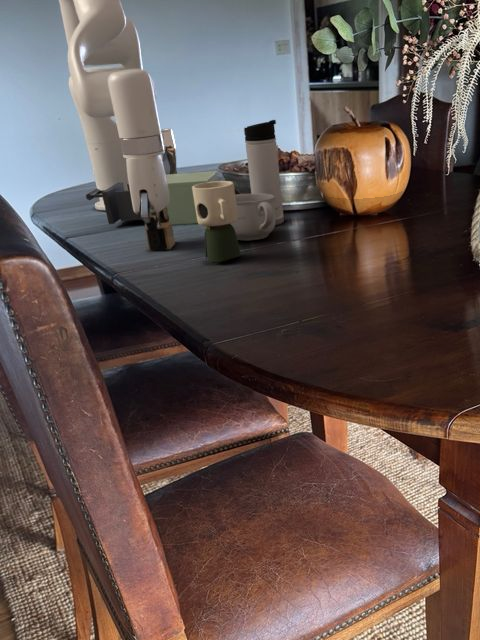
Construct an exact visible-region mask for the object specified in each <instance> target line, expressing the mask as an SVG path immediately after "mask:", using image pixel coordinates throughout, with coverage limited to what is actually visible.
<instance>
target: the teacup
mask: <svg viewBox="0 0 480 640" xmlns="http://www.w3.org/2000/svg"><path fill="white" fill-rule="evenodd" d="M235 198H236V205H237V213H238V220H237V221H235V222H233V223H231V225H232V226H233V228H234V229H235V233H236V236H237V240H238V241H259V240H263V239H266V238H267V237H268V236H269V235H270V234H271V233H272V232H273V231H274V229H275V226H276V225H275V196H274V195H272V194H258V193H253V194H251V193H239V194H235Z"/></svg>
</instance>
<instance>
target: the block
mask: <svg viewBox="0 0 480 640" xmlns="http://www.w3.org/2000/svg"><path fill="white" fill-rule="evenodd" d="M161 228H163V229H164V234H165V240H166V245H167V249H166V250H171V249H172V247H174V245H176V241H175V240H176V239H175V235H174V230H173V225H172V224H171V222H169V223H161ZM144 231H145V236H146V237H145V238H146V241H147V246H148V251H152V250H151V249H150V245H149V240H148V236H147V231H146V228H144Z"/></svg>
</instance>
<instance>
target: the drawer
mask: <svg viewBox="0 0 480 640" xmlns="http://www.w3.org/2000/svg"><path fill="white" fill-rule="evenodd" d="M127 187H128V191H125V190H124V186H123V182H122V183H117V184H115V185H113V186H112V187H110V188H108V189H106V190H99V189H97V188H95V189H93V190H91V191H90V192H88V193H86V195H85V198H86V200H88V201H91V200H93V199H96V198H99V197H103V201H104V205H105V210H104V211H105V214H106V218H107V223H108V225H114V224H116V223H117V222H119V221H120V222H127V221H140V220H142V221H144V220H143V219H142V217H141V213H140V214H136V213H135V212H134V210H133V205H132V199H131V194H130V188H129V184H127ZM101 193H102V194H101Z"/></svg>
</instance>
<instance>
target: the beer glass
mask: <svg viewBox="0 0 480 640" xmlns="http://www.w3.org/2000/svg"><path fill="white" fill-rule="evenodd" d="M160 130H161V135H162V141H163V146H164V151H165V153H164V154H162V155H161V158H162V161H163V166H164V170H165V174H166V175H168V174H178V170H177V168H178V167H177V147H176V142H175V137H174V133H173V129H172V128H160Z"/></svg>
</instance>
